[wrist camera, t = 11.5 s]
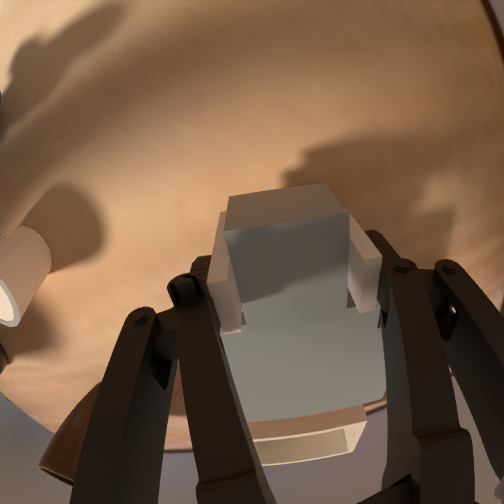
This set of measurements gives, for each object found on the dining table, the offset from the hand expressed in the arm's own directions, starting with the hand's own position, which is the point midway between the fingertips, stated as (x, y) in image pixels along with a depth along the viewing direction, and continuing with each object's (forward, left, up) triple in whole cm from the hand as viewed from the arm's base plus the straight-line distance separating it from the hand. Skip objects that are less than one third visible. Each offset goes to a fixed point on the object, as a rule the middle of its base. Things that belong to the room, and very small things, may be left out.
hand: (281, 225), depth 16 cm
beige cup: (-23, 0, -4) cm, 23 cm away
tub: (0, -28, -4) cm, 28 cm away
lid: (0, -7, +1) cm, 7 cm away
